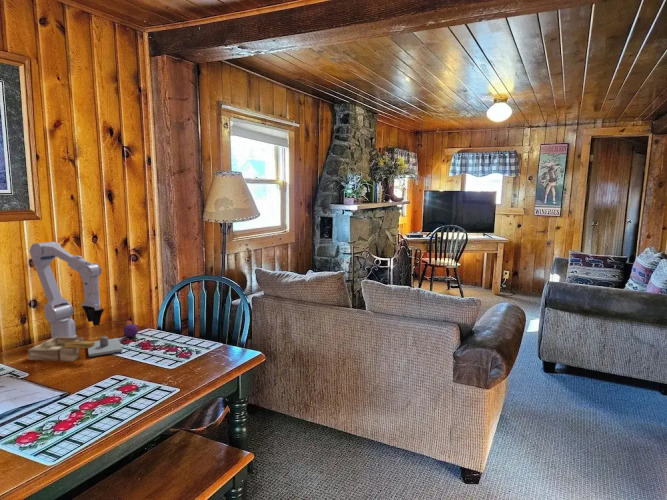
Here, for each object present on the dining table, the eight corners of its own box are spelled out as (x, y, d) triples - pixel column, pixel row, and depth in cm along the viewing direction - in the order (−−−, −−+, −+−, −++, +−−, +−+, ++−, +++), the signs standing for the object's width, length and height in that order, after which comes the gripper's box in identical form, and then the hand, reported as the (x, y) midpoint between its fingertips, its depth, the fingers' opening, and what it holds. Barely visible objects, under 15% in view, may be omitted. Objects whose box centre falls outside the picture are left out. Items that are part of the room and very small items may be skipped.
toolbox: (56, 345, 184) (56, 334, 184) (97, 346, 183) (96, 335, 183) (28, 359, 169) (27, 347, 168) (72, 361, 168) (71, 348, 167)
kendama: (136, 318, 214) (139, 325, 196) (134, 330, 213) (137, 338, 196) (122, 317, 211) (124, 325, 193) (120, 329, 211) (122, 338, 193)
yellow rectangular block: (70, 344, 171) (70, 340, 170) (94, 345, 170) (94, 341, 170) (65, 347, 168) (65, 343, 167) (90, 348, 167) (89, 344, 167)
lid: (87, 346, 184) (86, 334, 184) (118, 342, 191) (117, 330, 190) (89, 359, 171) (88, 345, 170) (122, 353, 177) (121, 340, 177)
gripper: (76, 290, 186) (78, 321, 188) (86, 296, 176) (88, 328, 178) (94, 288, 191) (96, 318, 193) (104, 294, 181) (106, 325, 182)
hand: (93, 323), depth 185 cm, fingers open, 7 cm apart
